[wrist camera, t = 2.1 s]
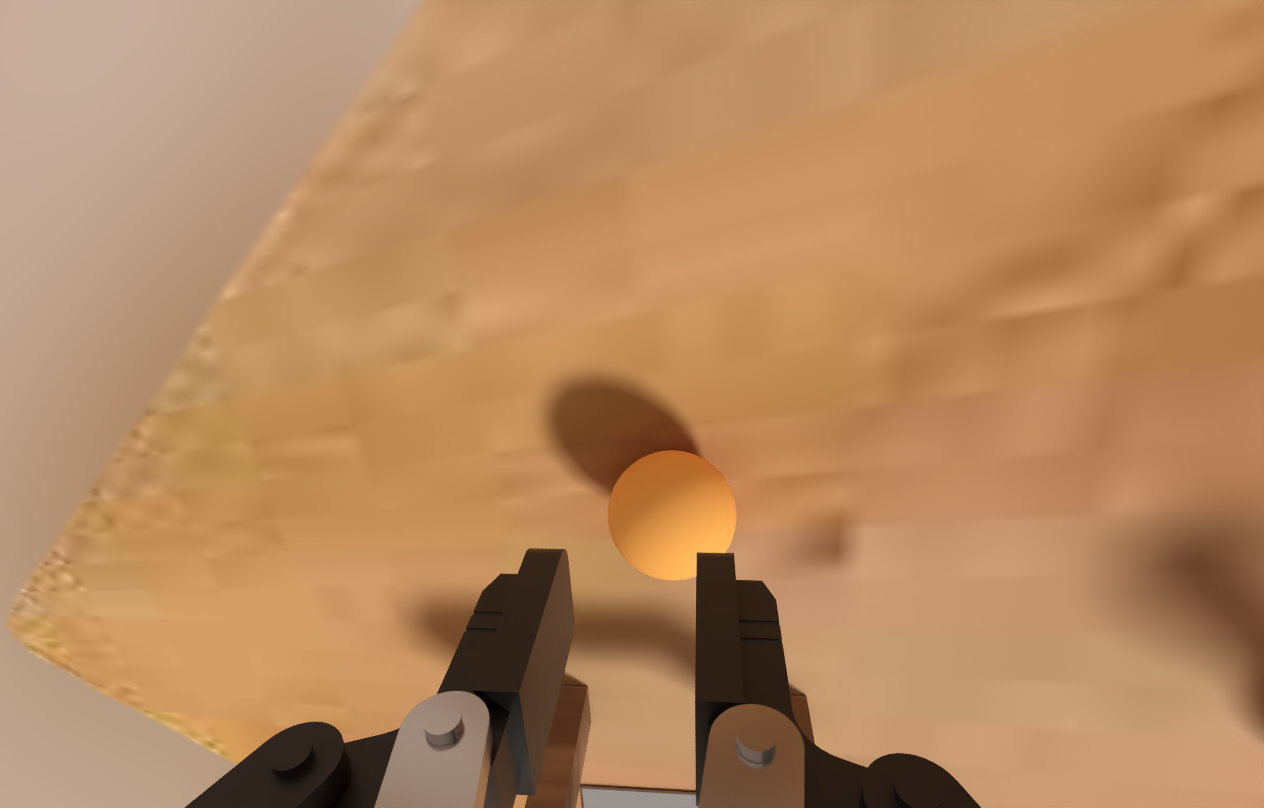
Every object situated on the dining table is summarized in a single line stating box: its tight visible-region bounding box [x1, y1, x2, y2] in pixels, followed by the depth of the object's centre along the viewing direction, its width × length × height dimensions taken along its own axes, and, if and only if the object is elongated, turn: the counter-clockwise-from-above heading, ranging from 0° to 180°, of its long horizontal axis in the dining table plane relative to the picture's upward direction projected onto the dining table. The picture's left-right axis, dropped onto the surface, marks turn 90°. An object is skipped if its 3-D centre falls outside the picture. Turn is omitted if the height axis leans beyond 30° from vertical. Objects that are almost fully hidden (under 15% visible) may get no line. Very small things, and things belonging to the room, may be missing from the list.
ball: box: [608, 450, 736, 580], centre depth 31 cm, size 6×6×6 cm
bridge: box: [525, 685, 815, 808], centre depth 36 cm, size 3×15×10 cm, turn 92°
